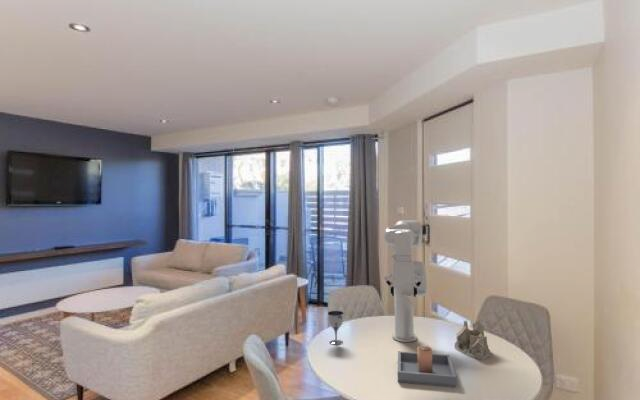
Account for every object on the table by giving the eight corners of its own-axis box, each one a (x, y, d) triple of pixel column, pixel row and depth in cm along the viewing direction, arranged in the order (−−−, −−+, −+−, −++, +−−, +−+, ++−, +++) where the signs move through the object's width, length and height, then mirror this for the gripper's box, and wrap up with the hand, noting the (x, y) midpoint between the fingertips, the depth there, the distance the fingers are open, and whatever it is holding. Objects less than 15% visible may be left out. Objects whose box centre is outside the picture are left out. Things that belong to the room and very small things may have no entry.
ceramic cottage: (456, 341, 183) (457, 312, 182) (492, 349, 174) (493, 319, 173) (449, 355, 170) (449, 323, 169) (487, 364, 161) (488, 331, 160)
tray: (398, 360, 164) (398, 351, 164) (449, 363, 159) (449, 354, 159) (397, 382, 144) (397, 372, 144) (456, 387, 139) (456, 376, 139)
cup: (417, 366, 155) (416, 345, 155) (431, 367, 154) (431, 346, 154) (417, 373, 149) (417, 350, 149) (433, 374, 148) (432, 352, 148)
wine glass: (342, 346, 180) (342, 315, 180) (327, 345, 182) (326, 315, 182) (344, 339, 188) (344, 310, 188) (329, 339, 190) (329, 310, 190)
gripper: (383, 259, 164) (384, 297, 164) (423, 260, 160) (424, 298, 160) (384, 256, 171) (384, 292, 171) (422, 257, 167) (423, 294, 168)
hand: (403, 295), depth 166 cm, fingers open, 9 cm apart
